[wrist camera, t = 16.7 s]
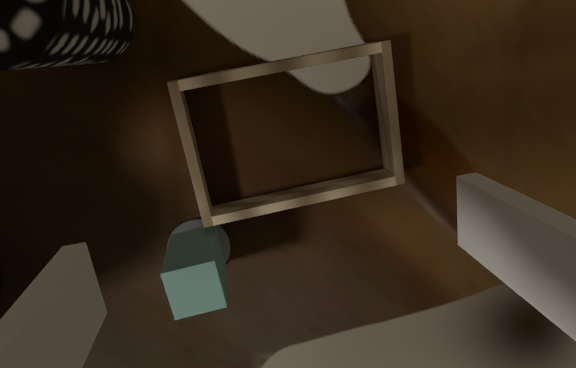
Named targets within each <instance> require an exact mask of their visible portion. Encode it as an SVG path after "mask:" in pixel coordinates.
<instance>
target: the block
mask: <svg viewBox="0 0 576 368" xmlns="http://www.w3.org/2000/svg"><path fill="white" fill-rule="evenodd" d="M160 275H161V278H162V281H163V284H164V287H165V290H166V294H167V297H168V300H169V303H170V306H171V309H172V312H173V316H174V319H175V320H178V319H181V318H185V317H189V316H193V315H197V314H201V313H205V312H209V311H213V310H217V309H221V308H225V307H227V287H226V263H225V259H224V255H223V252H222V248H221V244H220V240H219V236H218V233H217V229H216V225H215V226H210V227H206V228H199V229H195V230H191V231H187V232H182V233H178V234H174V235H171V236H170V240H169V243H168V247H167V251H166V254H165V258H164V262H163V266H162V269H161V273H160Z"/></svg>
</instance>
